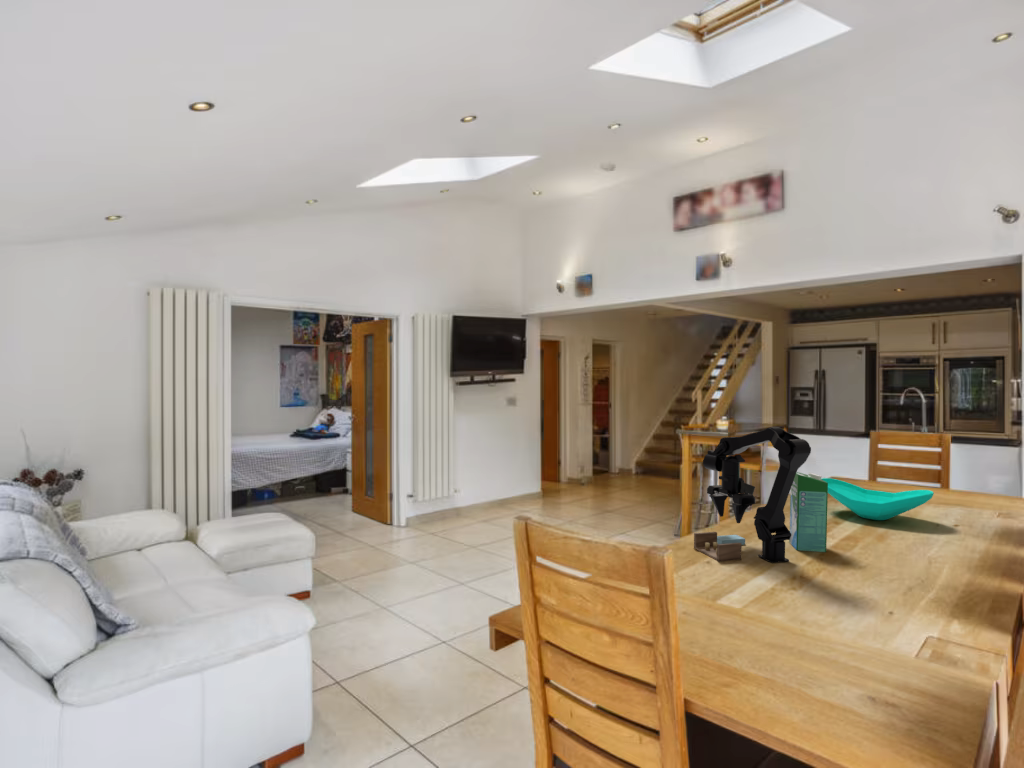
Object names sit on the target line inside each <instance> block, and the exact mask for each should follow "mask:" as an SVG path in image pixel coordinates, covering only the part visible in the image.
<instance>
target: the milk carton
mask: <svg viewBox="0 0 1024 768" xmlns="http://www.w3.org/2000/svg"><path fill="white" fill-rule="evenodd" d="M822 478H823V477H822V475H820V474H816V473H814V472H808V474H806V473H802V472H799V471H797V472H796V475H795V478H794V481H793V484H792V486H791V489H790V492H789V494H790V499H789V501H790V502H789V504H790V505H789V531H790V533H791V537H790V540H788V543H789V544H791V546H792V547H793V548H794V549H795V550H796V551H801V552H803V551H804V552H817V553H827V542H828V541H827V539H828V538H827V536H828V535H827V533H828V531H827V529H828V502H829V501H828V500H829V499H828V496H829V495H828V494H829V493H828V483H827V482H825V481H823V480H822Z"/></svg>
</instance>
